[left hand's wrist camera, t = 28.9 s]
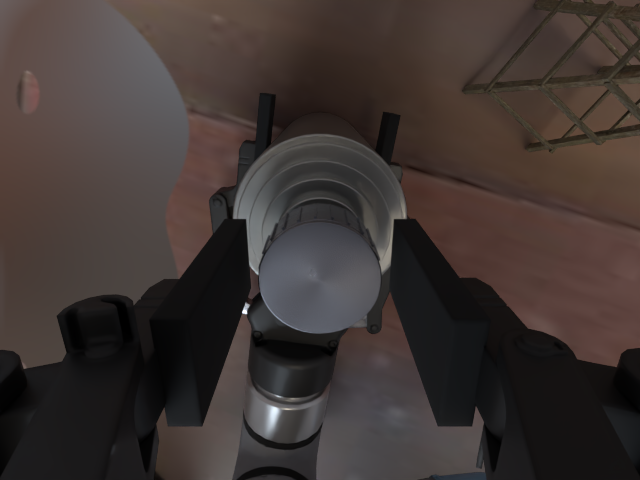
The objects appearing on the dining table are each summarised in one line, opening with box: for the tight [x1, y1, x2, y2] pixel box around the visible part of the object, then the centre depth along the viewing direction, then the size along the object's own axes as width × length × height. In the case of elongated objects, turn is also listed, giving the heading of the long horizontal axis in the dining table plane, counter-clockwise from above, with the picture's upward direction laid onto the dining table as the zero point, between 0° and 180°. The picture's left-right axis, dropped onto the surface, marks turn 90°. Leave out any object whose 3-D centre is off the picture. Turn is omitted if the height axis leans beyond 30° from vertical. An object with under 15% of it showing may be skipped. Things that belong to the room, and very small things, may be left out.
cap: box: [258, 203, 382, 334], centre depth 13 cm, size 4×4×2 cm
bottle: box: [233, 112, 407, 275], centre depth 24 cm, size 8×8×23 cm
